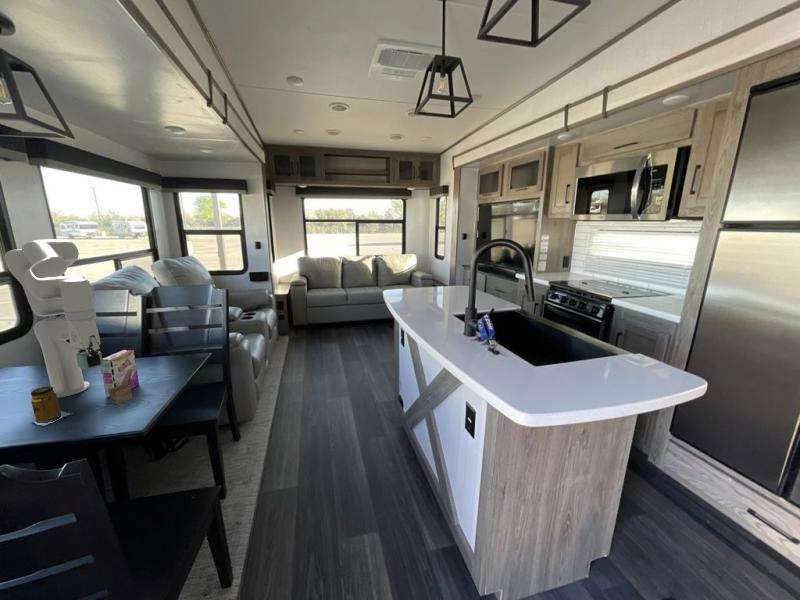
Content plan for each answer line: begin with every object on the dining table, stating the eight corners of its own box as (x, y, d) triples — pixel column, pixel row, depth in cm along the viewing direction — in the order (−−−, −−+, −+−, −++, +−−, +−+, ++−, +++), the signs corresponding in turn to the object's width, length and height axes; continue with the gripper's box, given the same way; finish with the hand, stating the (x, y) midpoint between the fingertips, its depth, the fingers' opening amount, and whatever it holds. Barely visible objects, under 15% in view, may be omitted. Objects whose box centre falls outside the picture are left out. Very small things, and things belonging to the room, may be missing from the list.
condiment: (30, 423, 113) (22, 392, 110) (60, 410, 121) (53, 381, 118) (44, 427, 111) (36, 395, 108) (74, 414, 119) (67, 384, 116)
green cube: (78, 367, 113) (75, 354, 112) (96, 362, 118) (93, 349, 117) (85, 370, 111) (82, 356, 110) (103, 364, 116) (101, 351, 115)
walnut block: (110, 401, 128) (108, 389, 127) (125, 395, 132) (123, 384, 131) (117, 404, 126) (115, 392, 125) (132, 398, 130) (130, 387, 129)
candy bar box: (117, 398, 130) (110, 360, 126) (105, 397, 130) (98, 359, 127) (140, 385, 141) (134, 349, 137) (129, 384, 141) (123, 349, 137)
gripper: (54, 313, 111) (65, 363, 115) (78, 321, 104) (89, 373, 108) (82, 309, 117) (92, 355, 121) (107, 315, 110) (116, 365, 114)
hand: (90, 363), depth 114 cm, fingers closed on green cube, 4 cm apart
